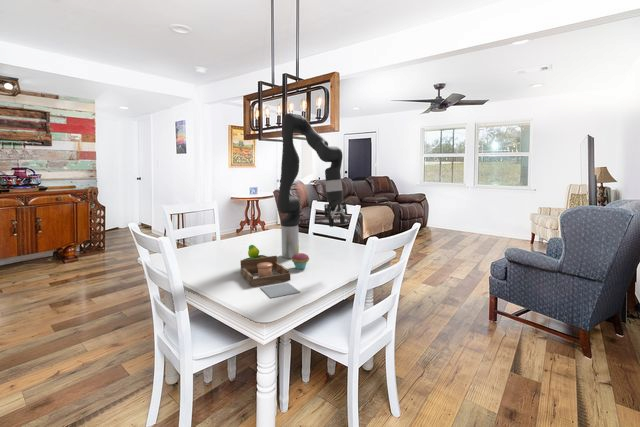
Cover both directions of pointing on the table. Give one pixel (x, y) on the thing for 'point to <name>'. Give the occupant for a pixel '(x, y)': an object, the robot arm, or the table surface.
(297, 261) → the cupcake
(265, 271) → the peach round knob
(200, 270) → the table surface
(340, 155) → the robot arm
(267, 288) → the gray square base plate
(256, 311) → the table surface
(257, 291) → the table surface
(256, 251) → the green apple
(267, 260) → the frame
